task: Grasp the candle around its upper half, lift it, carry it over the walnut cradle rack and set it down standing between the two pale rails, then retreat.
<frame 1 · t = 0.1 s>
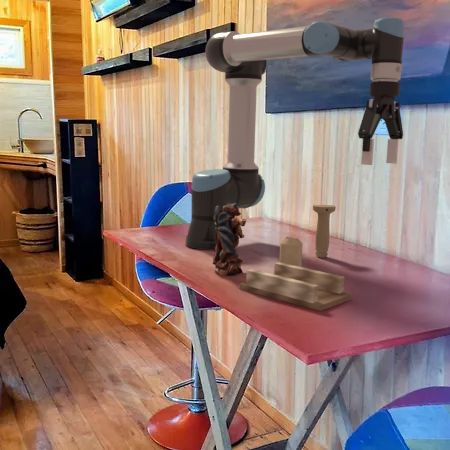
hand: (379, 164, 149), 28 cm above the table, fingers open, 13 cm apart
handle: (321, 257, 165), on the table
candle: (289, 277, 142), on the table
figurine: (230, 272, 145), on the table
rack: (294, 293, 126), on the table
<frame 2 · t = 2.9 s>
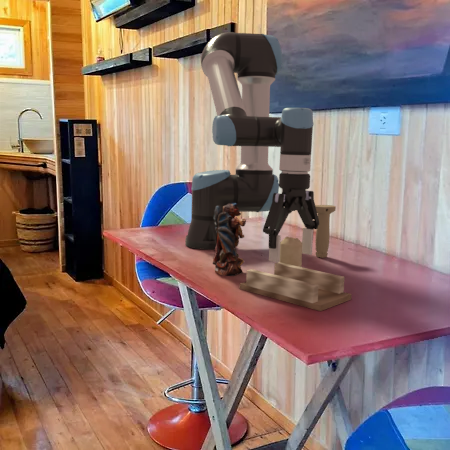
hand: (291, 257, 141), 5 cm above the table, fingers open, 13 cm apart
nothing on the table moved.
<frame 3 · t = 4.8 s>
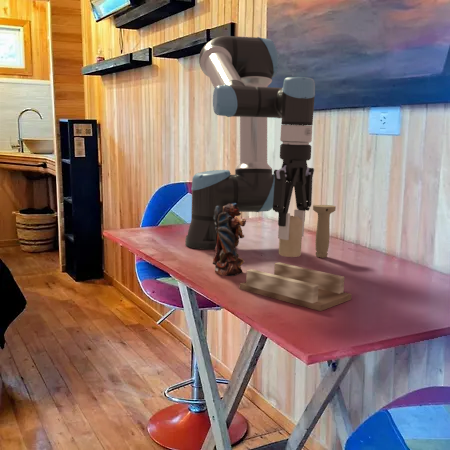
hand: (290, 237, 141), 10 cm above the table, fingers closed on candle, 5 cm apart
candle: (289, 255, 142), point 5 cm above the table, touching gripper
everything else where it was.
when the fingers open (5 cm above the table, at t = 9.0 s): candle stays where it is, resting on rack.
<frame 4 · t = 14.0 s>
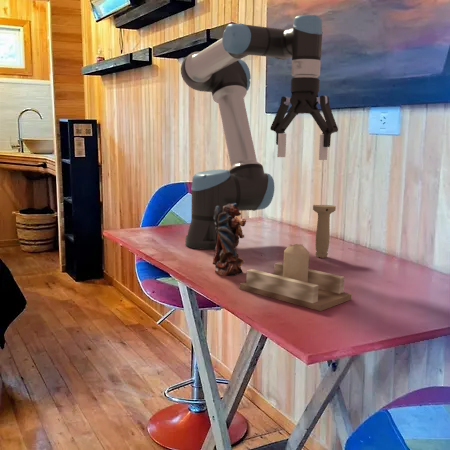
hand: (301, 158, 152), 29 cm above the table, fingers open, 13 cm apart
candle: (294, 289, 126), point 1 cm above the table, touching rack
everything else where it was.
at the end: candle inside the target area on the rack (0.1 cm from its centre), point 1.0 cm above the rack's base; candle tilted 0°; the gripper is holding nothing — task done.
